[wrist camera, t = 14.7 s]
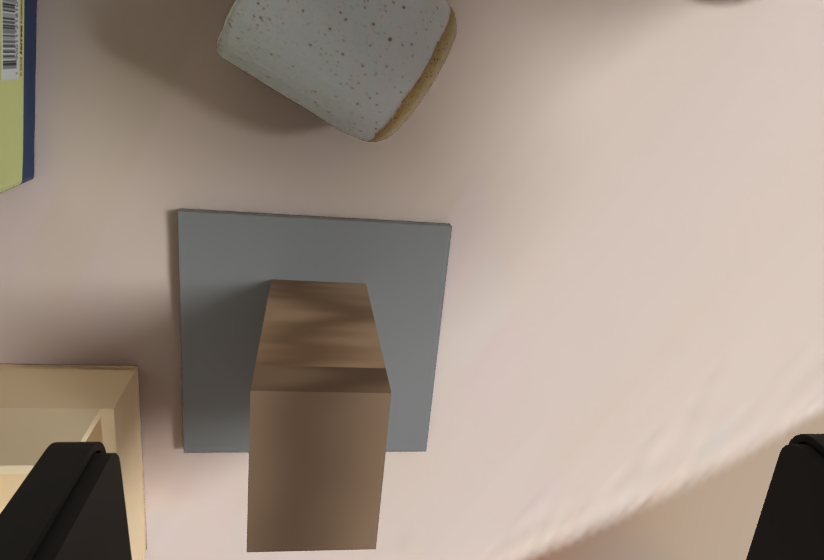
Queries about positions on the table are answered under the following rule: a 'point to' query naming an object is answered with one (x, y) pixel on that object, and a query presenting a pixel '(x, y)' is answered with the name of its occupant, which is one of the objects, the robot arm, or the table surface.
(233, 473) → the table surface
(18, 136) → the protein box
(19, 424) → the beige open box
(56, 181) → the table surface
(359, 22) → the ceramic mug
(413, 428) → the rubber mat
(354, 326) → the walnut block
